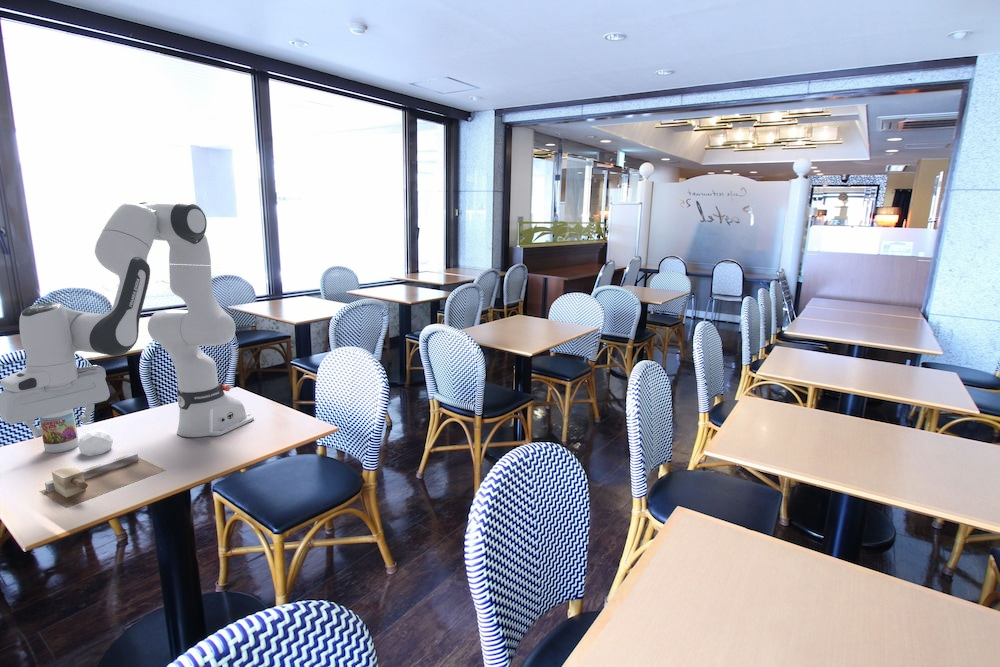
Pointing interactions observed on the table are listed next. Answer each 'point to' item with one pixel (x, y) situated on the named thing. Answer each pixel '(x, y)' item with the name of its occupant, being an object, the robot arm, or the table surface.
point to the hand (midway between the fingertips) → (62, 428)
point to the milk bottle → (59, 431)
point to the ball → (95, 442)
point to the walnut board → (106, 478)
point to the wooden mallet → (69, 481)
